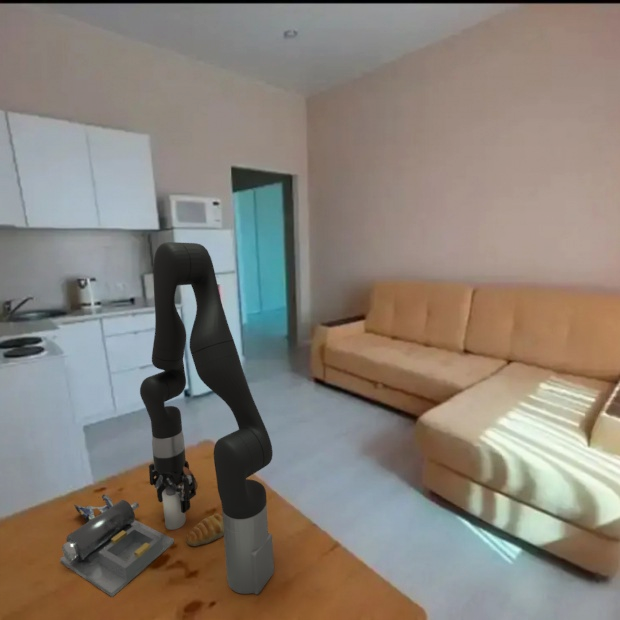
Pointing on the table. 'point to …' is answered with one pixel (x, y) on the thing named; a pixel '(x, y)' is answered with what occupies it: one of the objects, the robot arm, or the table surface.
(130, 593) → the table surface
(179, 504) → the white cylinder roll
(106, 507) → the snack package
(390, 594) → the table surface
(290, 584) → the table surface
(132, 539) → the motor unit
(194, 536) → the pastry
